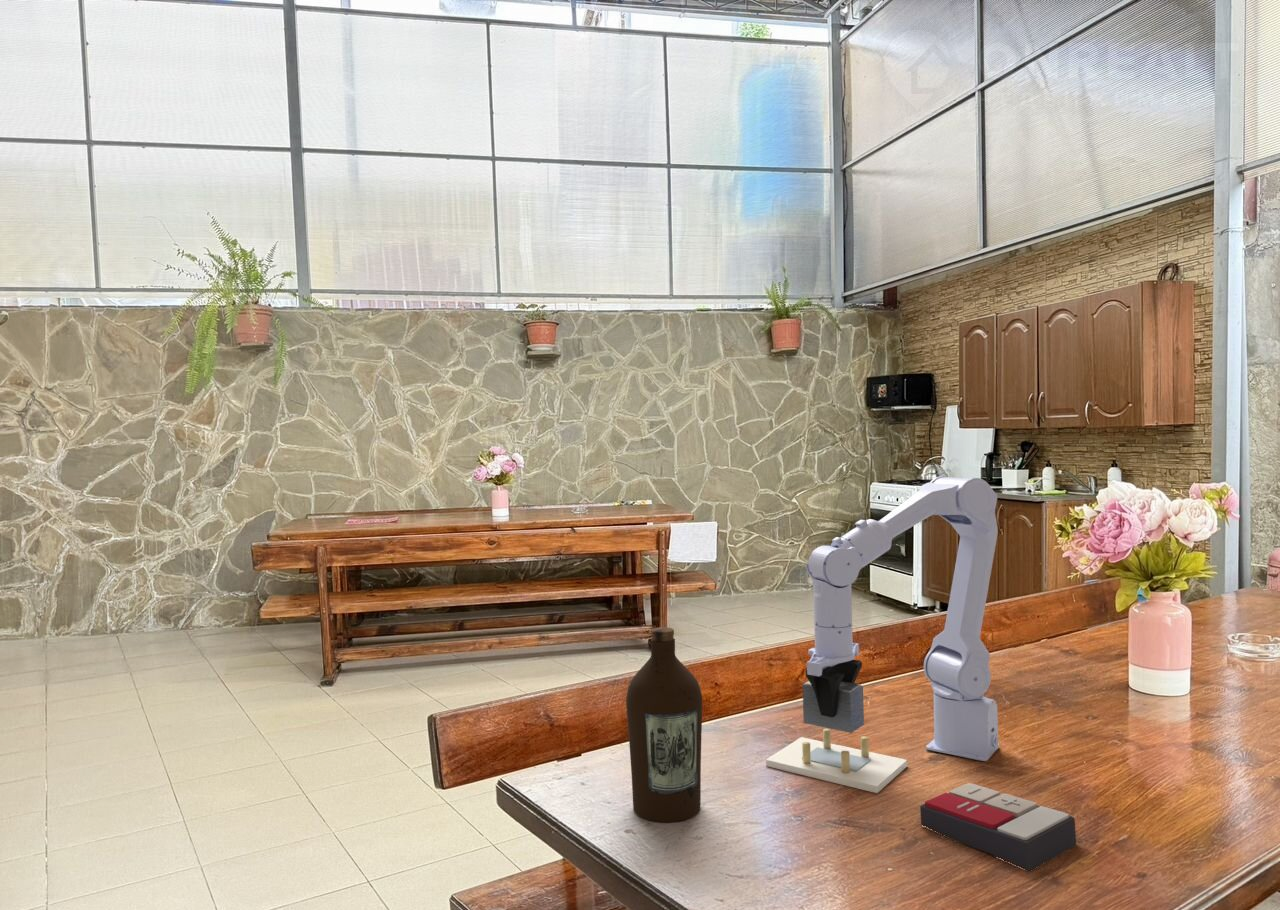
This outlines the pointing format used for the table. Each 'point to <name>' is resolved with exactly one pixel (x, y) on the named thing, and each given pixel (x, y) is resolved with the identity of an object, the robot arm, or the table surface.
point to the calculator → (1000, 825)
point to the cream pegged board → (838, 763)
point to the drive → (846, 712)
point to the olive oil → (665, 734)
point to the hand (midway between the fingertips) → (835, 711)
